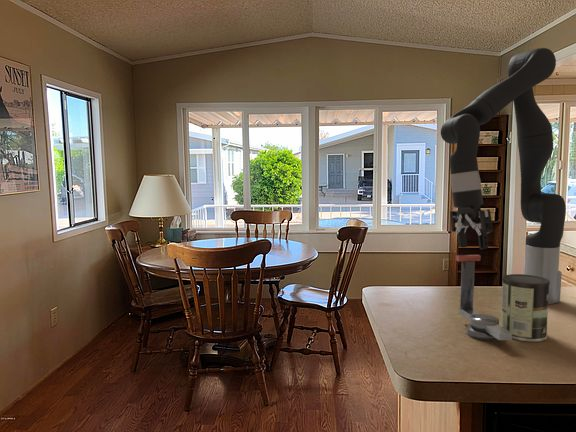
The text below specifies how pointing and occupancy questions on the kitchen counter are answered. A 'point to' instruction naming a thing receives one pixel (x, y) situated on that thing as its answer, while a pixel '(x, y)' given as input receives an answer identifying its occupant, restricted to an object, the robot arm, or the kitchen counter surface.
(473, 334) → the base
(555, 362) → the kitchen counter surface
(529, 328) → the coffee can
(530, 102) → the robot arm
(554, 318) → the kitchen counter surface
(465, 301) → the crank
